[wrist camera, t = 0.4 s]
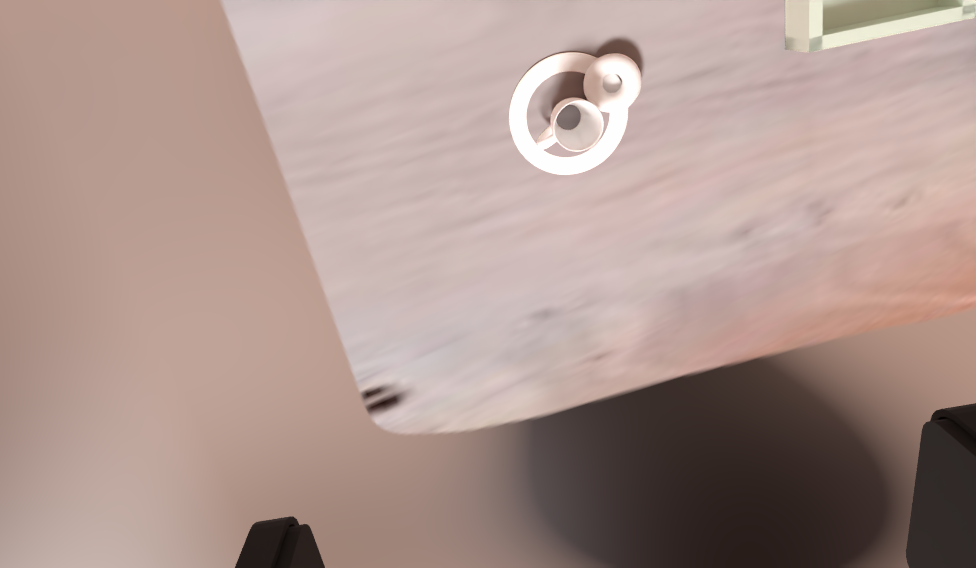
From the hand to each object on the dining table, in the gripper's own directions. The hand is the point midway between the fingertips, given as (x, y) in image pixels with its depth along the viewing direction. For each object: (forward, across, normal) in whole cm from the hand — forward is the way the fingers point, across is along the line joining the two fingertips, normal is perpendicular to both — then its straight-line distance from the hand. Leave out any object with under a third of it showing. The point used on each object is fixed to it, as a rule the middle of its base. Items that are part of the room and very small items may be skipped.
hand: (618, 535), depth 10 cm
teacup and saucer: (+36, -8, +2) cm, 37 cm away
